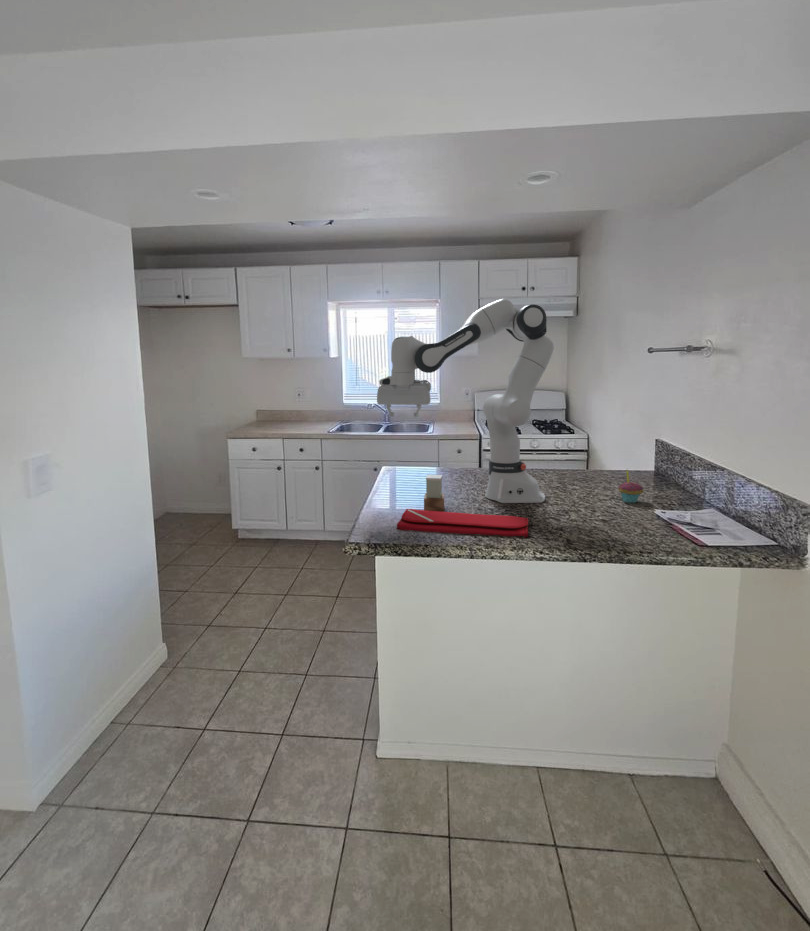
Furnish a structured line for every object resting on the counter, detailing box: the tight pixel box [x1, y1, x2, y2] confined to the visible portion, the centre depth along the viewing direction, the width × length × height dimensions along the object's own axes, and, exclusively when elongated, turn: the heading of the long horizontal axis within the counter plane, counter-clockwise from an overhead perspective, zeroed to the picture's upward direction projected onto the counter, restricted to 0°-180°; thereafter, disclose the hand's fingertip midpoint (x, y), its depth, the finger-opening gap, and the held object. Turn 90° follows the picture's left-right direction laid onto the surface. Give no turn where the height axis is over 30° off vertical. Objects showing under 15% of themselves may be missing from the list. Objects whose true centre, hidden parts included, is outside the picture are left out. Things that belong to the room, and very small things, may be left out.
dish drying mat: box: [396, 508, 530, 538], centre depth 179 cm, size 16×41×4 cm, turn 77°
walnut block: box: [423, 492, 445, 512], centre depth 199 cm, size 7×7×5 cm
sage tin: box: [425, 474, 443, 498], centre depth 197 cm, size 5×5×7 cm
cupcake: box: [618, 470, 644, 504], centre depth 204 cm, size 9×8×12 cm
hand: (403, 416), depth 211 cm, fingers open, 8 cm apart
